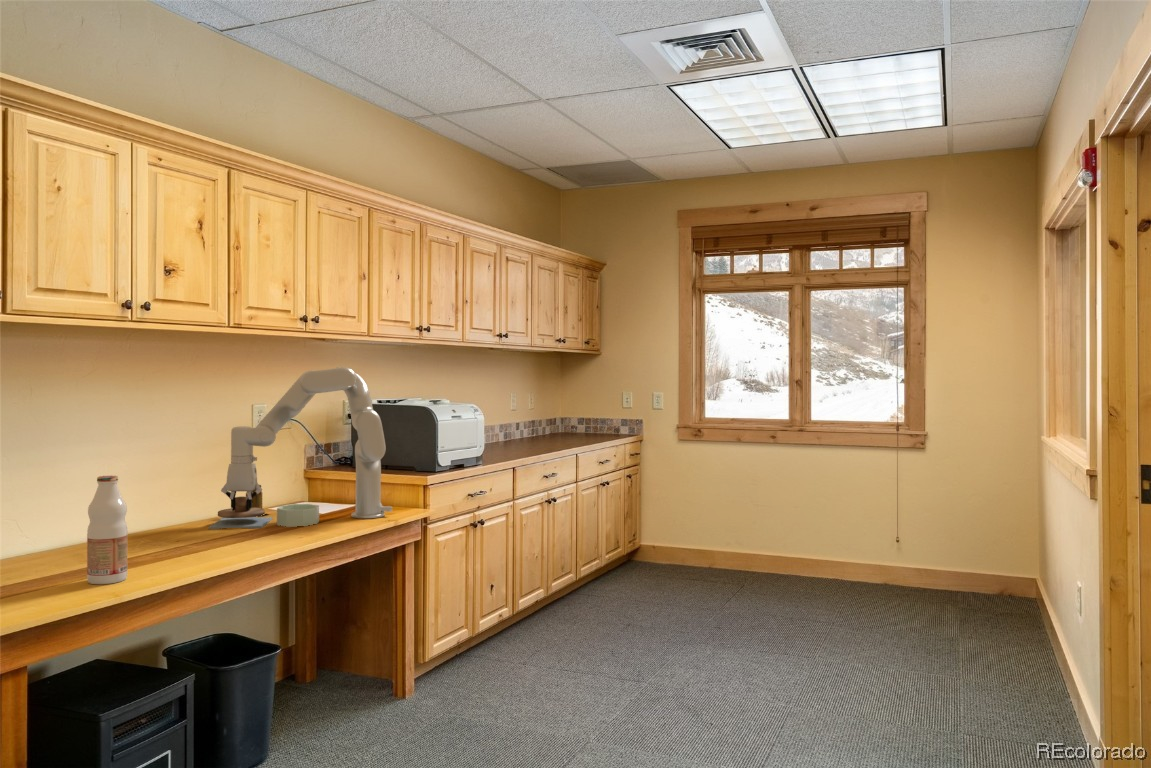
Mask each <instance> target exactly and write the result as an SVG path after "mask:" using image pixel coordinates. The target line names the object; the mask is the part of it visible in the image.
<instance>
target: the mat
mask: <svg viewBox="0 0 1151 768" xmlns="http://www.w3.org/2000/svg"><path fill="white" fill-rule="evenodd" d="M270 520H271V521H272V520H273V516H269V517H267V516H261V517H248V518H223V517H221V518H220V519H218V520H217V521H216V522H214V523H212V524H211V525H209V526H208V530H223V529H222V528H248V529H263V528H264V527H265V526H266V525H267V524H269V523H270V522H271V521H270ZM269 521H270V522H269ZM268 522H269V523H268ZM264 525H265V526H264ZM263 526H264V527H263ZM262 527H263V528H262ZM219 528H221V529H219Z"/></svg>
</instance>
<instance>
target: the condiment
mask: <svg viewBox="0 0 1151 768" xmlns="http://www.w3.org/2000/svg"><path fill="white" fill-rule="evenodd" d="M259 486H260V487H261V488H262V485H261V484H259ZM256 490H257V489H254V490H253V491H252V493H253V492H255V491H256ZM245 497H248V495H247V491H245ZM252 508H262V509H263V490H262V491H261V492H259V493H258V494H256V495H255V496H254V497H253V498H252Z"/></svg>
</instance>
